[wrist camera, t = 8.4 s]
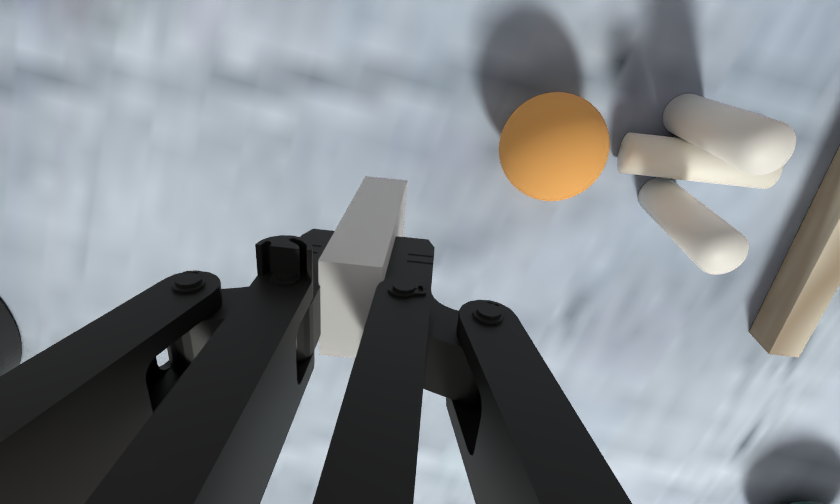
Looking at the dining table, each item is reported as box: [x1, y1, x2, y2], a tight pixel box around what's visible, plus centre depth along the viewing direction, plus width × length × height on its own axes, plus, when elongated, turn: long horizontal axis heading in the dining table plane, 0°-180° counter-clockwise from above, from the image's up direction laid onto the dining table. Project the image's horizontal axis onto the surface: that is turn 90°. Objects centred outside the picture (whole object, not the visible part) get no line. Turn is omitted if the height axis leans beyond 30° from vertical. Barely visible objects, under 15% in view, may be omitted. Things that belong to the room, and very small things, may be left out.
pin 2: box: [638, 177, 749, 274], centre depth 27 cm, size 2×2×8 cm
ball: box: [499, 92, 610, 201], centre depth 27 cm, size 6×6×6 cm
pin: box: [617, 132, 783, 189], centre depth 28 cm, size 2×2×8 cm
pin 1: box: [663, 93, 796, 175], centre depth 24 cm, size 2×2×8 cm
